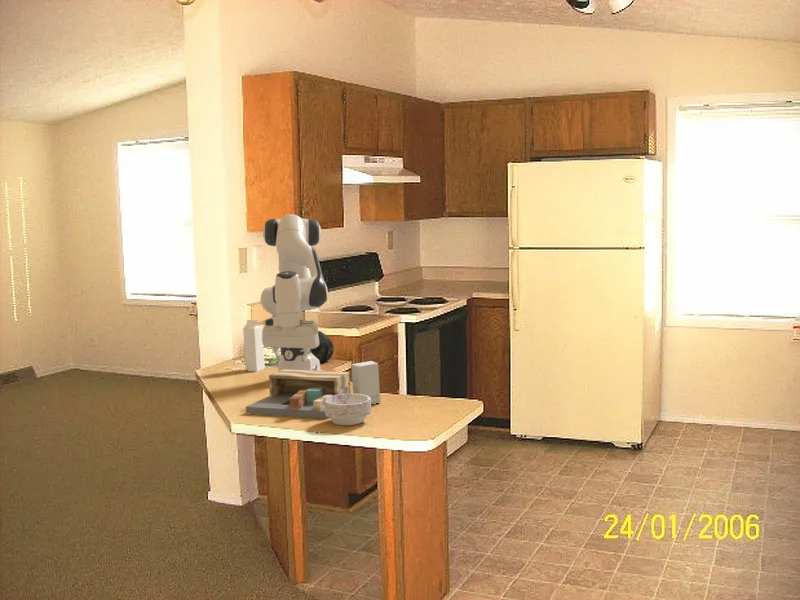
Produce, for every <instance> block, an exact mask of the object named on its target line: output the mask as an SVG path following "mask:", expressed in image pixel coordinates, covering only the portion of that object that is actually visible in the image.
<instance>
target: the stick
mask: <svg viewBox="0 0 800 600" xmlns="http://www.w3.org/2000/svg"><path fill="white" fill-rule="evenodd" d="M330 396H333V395H324V396H323V397H321V398H319V399H317V400H315V401H313V407H314V410H322V409H324V408H325V404H324V403H325V399H326V398H328V397H330Z"/></svg>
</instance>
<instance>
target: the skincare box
mask: <svg viewBox="0 0 800 600" xmlns="http://www.w3.org/2000/svg"><path fill="white" fill-rule="evenodd" d="M379 370H380V369H379V363H377V362H375V361H373V360H369V361H368V360H367V361H362V362H358V363H352V364H351V377H352V394H363V395H367V396H369V397H370V398H371V404H374V405H377V404H376V403H379V404H381V391H380V390H381V389H380V375H379Z"/></svg>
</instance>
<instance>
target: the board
mask: <svg viewBox="0 0 800 600" xmlns="http://www.w3.org/2000/svg"><path fill="white" fill-rule="evenodd" d="M296 393H297V392H295V391H285V392H283V393H280V394H278V395H276V396H274V397H270V395H269V396H267V397H264V398H262V399H260V400H257V401H255V402H253V403H250V404H248V405H246V406H245V414H246V413H250V414H249V415H258V414H262V415H263V416H275V415H276V416H277V417H289V416H292V417H291V418H306V417H307V418H309V419H323V420H326V419H329V417H327V416H326V415H325V408H324V409H322V410H314V407H313V403H307V404H305V405H304V406H303V407H302V408H301V409H299V410H290V401H289V398H291V397H292V396H293V395H295V394H296ZM325 395H333V396H334V395H335V394H334V393H325ZM293 416H294V417H293Z"/></svg>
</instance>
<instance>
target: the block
mask: <svg viewBox="0 0 800 600" xmlns="http://www.w3.org/2000/svg"><path fill="white" fill-rule="evenodd" d="M321 397H322V388H309V389H308V390H306V399H307V403H313V401H315V400H317V399H319V398H321Z"/></svg>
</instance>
